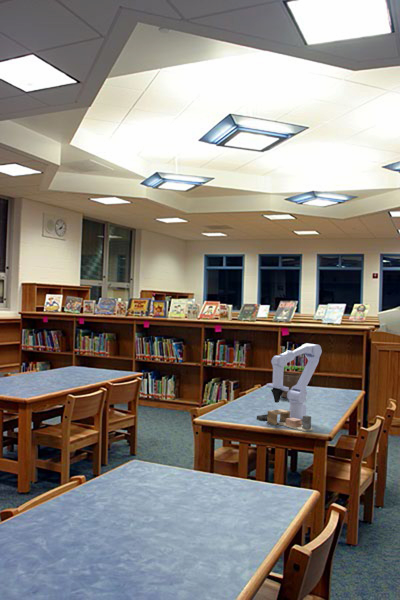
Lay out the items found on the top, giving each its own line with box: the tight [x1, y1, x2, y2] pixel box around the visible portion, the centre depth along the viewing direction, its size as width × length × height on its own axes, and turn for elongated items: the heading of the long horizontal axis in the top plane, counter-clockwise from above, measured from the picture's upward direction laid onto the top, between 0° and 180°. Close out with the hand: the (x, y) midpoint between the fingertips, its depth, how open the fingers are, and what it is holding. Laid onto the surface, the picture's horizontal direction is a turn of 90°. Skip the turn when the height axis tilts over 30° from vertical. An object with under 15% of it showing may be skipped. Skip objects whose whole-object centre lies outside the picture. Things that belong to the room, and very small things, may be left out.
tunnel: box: [266, 408, 290, 426], centre depth 280 cm, size 11×6×6 cm, turn 129°
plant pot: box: [280, 372, 302, 399], centre depth 365 cm, size 16×16×16 cm
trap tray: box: [256, 413, 268, 422], centre depth 287 cm, size 9×5×2 cm, turn 129°
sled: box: [277, 414, 314, 432], centre depth 271 cm, size 7×18×7 cm, turn 39°
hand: (276, 402), depth 285 cm, fingers closed
